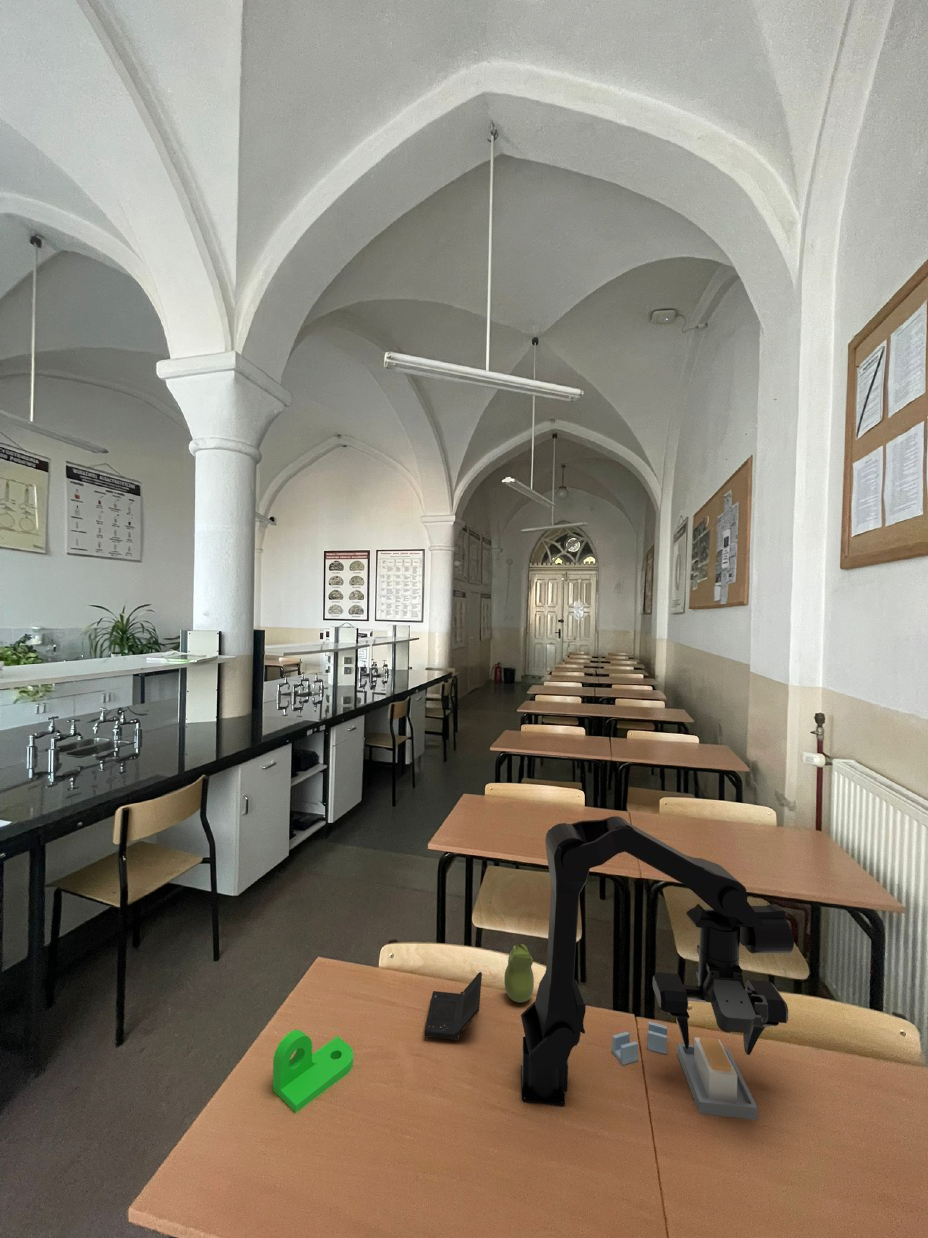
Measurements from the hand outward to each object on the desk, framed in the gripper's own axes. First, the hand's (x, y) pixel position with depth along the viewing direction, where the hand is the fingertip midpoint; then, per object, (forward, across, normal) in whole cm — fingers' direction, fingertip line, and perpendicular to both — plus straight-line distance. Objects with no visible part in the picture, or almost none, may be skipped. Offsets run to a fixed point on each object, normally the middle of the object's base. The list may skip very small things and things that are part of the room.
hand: (716, 1050), depth 85 cm
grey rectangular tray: (+6, 0, 0) cm, 6 cm away
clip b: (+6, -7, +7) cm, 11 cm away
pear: (+6, -31, +15) cm, 35 cm away
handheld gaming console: (+6, -46, +8) cm, 47 cm away
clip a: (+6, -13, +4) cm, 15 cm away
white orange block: (+5, 0, 0) cm, 5 cm away
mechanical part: (+6, -62, -7) cm, 63 cm away
